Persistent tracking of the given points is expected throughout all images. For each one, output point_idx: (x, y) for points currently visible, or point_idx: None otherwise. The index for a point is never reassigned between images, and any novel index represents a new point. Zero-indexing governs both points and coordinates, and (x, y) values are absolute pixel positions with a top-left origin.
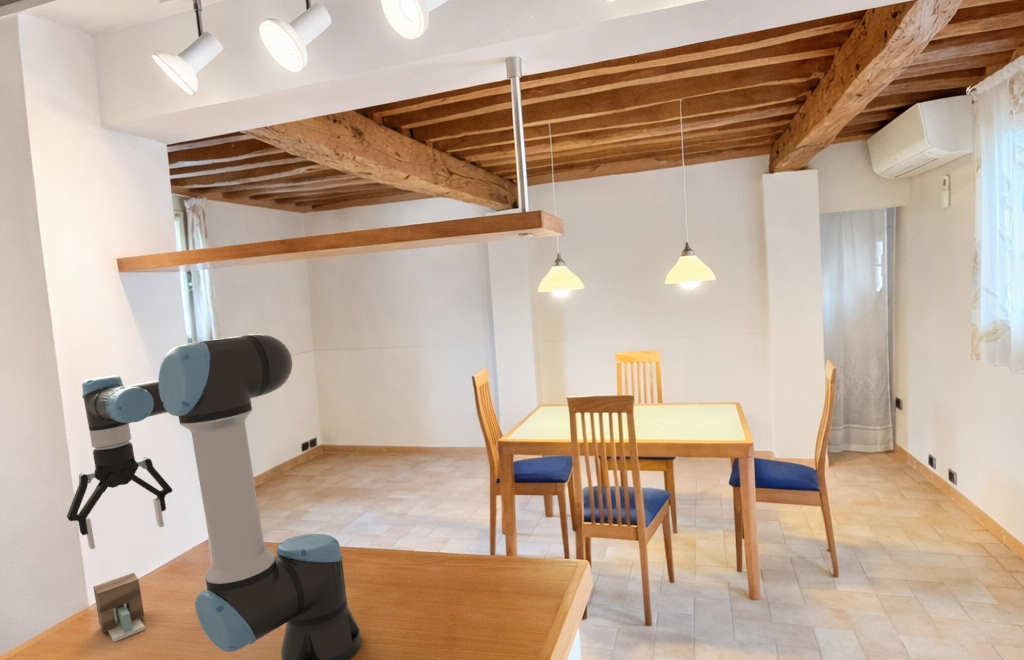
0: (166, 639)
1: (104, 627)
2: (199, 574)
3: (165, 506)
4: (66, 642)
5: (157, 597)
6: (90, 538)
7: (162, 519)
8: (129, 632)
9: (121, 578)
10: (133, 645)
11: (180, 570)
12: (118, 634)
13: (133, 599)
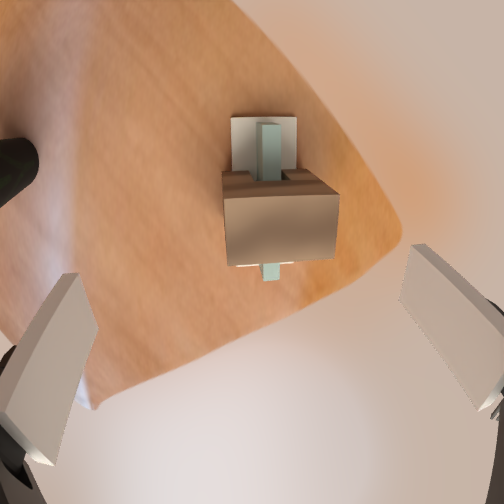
0: (203, 31)
1: (305, 171)
2: (97, 301)
3: (1, 363)
4: (359, 205)
5: (181, 263)
6: (454, 272)
7: (48, 298)
8: (263, 117)
9: (264, 250)
10: (264, 64)
11: (132, 347)
12: (284, 128)
13: (242, 182)
